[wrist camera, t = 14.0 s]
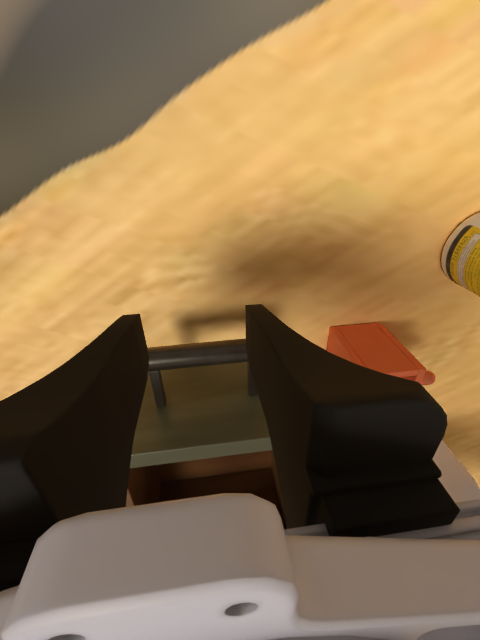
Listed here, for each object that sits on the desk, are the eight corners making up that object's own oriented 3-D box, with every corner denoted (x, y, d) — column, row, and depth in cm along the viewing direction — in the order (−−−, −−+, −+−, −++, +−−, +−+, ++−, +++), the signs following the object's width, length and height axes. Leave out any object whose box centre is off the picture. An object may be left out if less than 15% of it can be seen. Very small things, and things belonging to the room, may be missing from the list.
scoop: (323, 367, 26) (353, 421, 22) (329, 326, 24) (364, 375, 19) (392, 360, 27) (436, 410, 22) (404, 319, 25) (457, 365, 20)
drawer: (99, 322, 20) (59, 404, 14) (295, 306, 22) (336, 374, 16) (147, 478, 30) (135, 568, 24) (282, 460, 31) (305, 541, 25)
